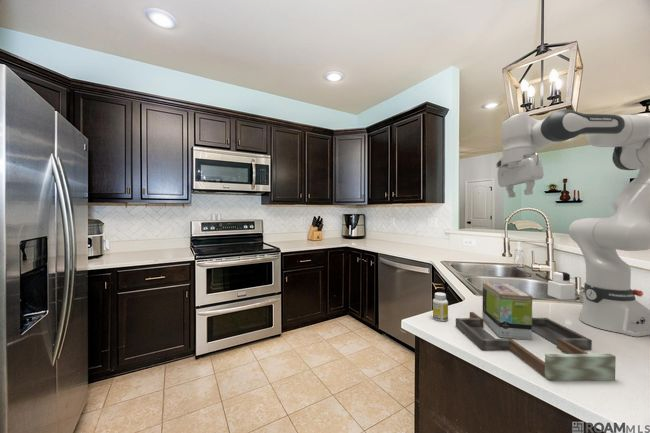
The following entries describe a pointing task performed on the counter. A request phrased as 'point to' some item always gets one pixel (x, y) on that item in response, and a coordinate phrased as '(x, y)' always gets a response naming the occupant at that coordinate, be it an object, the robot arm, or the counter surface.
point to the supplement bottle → (440, 307)
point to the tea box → (507, 310)
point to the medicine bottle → (561, 286)
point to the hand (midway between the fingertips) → (519, 196)
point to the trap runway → (555, 365)
